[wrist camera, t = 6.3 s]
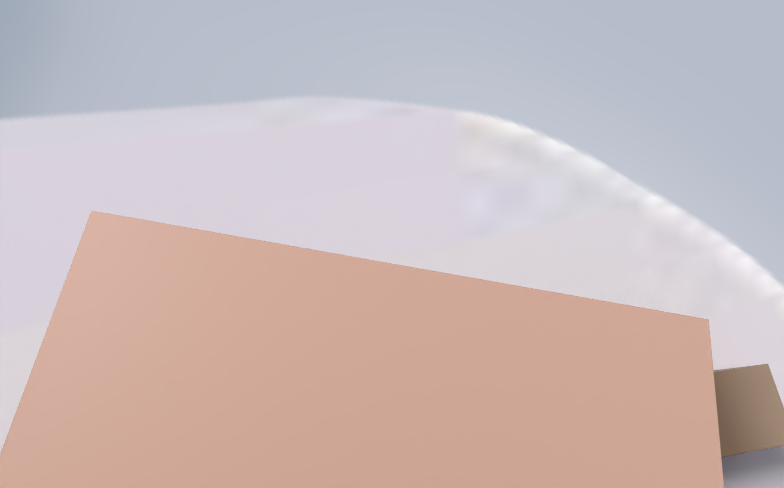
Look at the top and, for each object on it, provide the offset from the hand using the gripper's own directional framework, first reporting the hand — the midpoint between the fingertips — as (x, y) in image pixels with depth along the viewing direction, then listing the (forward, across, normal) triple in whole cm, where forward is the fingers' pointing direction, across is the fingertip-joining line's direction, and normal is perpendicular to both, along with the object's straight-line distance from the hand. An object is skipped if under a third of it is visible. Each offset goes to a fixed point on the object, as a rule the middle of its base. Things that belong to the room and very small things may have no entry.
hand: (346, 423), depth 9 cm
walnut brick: (+10, -15, +7) cm, 19 cm away
